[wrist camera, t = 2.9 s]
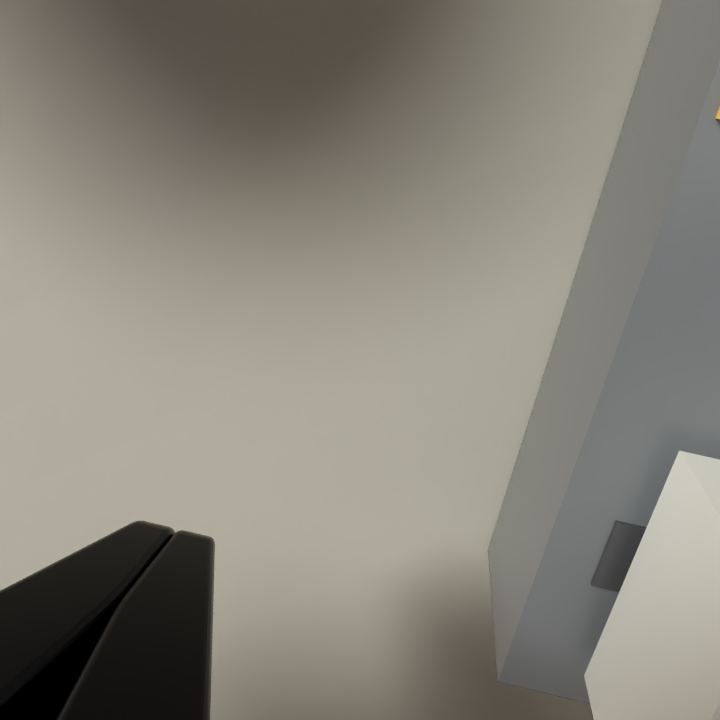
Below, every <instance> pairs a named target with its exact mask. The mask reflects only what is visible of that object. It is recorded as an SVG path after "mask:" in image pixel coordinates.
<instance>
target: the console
mask: <svg viewBox="0 0 720 720" xmlns="http://www.w3.org/2000/svg"><path fill="white" fill-rule="evenodd" d="M679 451H684V452H688V453H693V454H697V455H701V456H706V457H710V458H715V459H719V460H720V0H663V2H662V5H661V8H660V11H659V14H658V17H657V20H656V24H655V27H654V30H653V33H652V36H651V39H650V42H649V46H648V49H647V52H646V55H645V58H644V61H643V64H642V68H641V71H640V74H639V77H638V80H637V83H636V86H635V90H634V93H633V96H632V99H631V102H630V105H629V108H628V112H627V115H626V118H625V121H624V124H623V127H622V130H621V134H620V137H619V140H618V143H617V146H616V149H615V152H614V156H613V159H612V162H611V165H610V168H609V171H608V174H607V178H606V181H605V184H604V187H603V190H602V193H601V196H600V200H599V203H598V206H597V209H596V212H595V215H594V218H593V222H592V225H591V228H590V231H589V234H588V237H587V240H586V244H585V247H584V250H583V253H582V256H581V259H580V262H579V266H578V269H577V272H576V275H575V278H574V281H573V284H572V288H571V291H570V294H569V297H568V300H567V303H566V306H565V310H564V313H563V316H562V319H561V322H560V325H559V328H558V332H557V335H556V338H555V341H554V344H553V347H552V350H551V354H550V357H549V360H548V363H547V366H546V369H545V372H544V376H543V379H542V382H541V385H540V388H539V391H538V394H537V398H536V401H535V404H534V407H533V410H532V413H531V416H530V420H529V423H528V426H527V429H526V432H525V435H524V438H523V442H522V445H521V448H520V451H519V454H518V457H517V461H516V464H515V467H514V470H513V473H512V476H511V479H510V483H509V486H508V489H507V492H506V495H505V498H504V501H503V505H502V508H501V511H500V514H499V517H498V520H497V523H496V527H495V530H494V533H493V536H492V539H491V542H490V545H489V549H488V557H489V571H490V584H491V598H492V611H493V625H494V639H495V652H496V666H497V679H498V682H502V683H506V684H510V685H514V686H518V687H522V688H526V689H530V690H534V691H539V692H543V693H547V694H551V695H555V696H559V697H563V698H567V699H572V700H576V701H580V702H584V703H588V704H590V700H589V696H588V691H587V687H586V682H585V678H584V675H585V672H586V670H587V668H588V665H589V663H590V660H591V658H592V656H593V653H594V651H595V649H596V646H597V644H598V641H599V639H600V637H601V634H602V632H603V630H604V627H605V625H606V623H607V620H608V618H609V615H610V613H611V611H612V608H613V606H614V604H615V601H616V599H617V596H618V594H619V592H620V589H621V587H622V585H623V582H624V580H625V578H626V575H627V573H628V570H629V568H630V566H631V563H632V561H633V559H634V556H635V554H636V551H637V549H638V547H639V544H640V542H641V540H642V537H643V535H644V533H645V530H646V528H647V525H648V523H649V521H650V518H651V516H652V514H653V511H654V509H655V506H656V504H657V502H658V499H659V497H660V495H661V492H662V490H663V488H664V485H665V483H666V480H667V478H668V476H669V473H670V471H671V469H672V466H673V464H674V461H675V459H676V457H677V454H678V452H679Z"/></svg>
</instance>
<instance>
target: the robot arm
mask: <svg viewBox="0 0 720 720" xmlns="http://www.w3.org/2000/svg"><path fill="white" fill-rule="evenodd" d="M214 555H215V542H214V540H213V539H212V538H211V537H209V536H205V535H201V534H197V533H192V532H188V531H183V530H181V531H178V532H176V533H175V531H174V530H173V529H172V528H170V527H167V526H163V525H159V524H154V523H150V522H146V521H136V522H133V523H131V524H129V525H127V526H125V527H123V528H121V529H119V530H117V531H115V532H113V533H111V534H110V535H108V536H106V537H104V538H102V539H100V540H98V541H96V542H94V543H92V544H90V545H88V546H86V547H84V548H82V549H80V550H78V551H77V552H75V553H73V554H71V555H69V556H67V557H65V558H63V559H61V560H59V561H57V562H55V563H53V564H51V565H49V566H47V567H45V568H44V569H42V570H40V571H38V572H36V573H34V574H32V575H30V576H28V577H26V578H24V579H22V580H20V581H18V582H16V583H14V584H12V585H11V586H9V587H7V588H5V589H3V590H1V591H0V720H210V702H211V665H212V629H213V592H214Z"/></svg>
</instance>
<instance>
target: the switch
mask: <svg viewBox="0 0 720 720" xmlns="http://www.w3.org/2000/svg"><path fill="white" fill-rule="evenodd" d="M584 678H585V682H586V687H587V691H588V696H589V700H590V705H591V709H592V714H593V718H594V720H720V460H719V459H715V458H710V457H706V456H701V455H697V454H693V453H688V452H684V451H679V452H678V454H677V457H676V459H675V461H674V464H673V466H672V469H671V471H670V473H669V476H668V478H667V480H666V483H665V485H664V488H663V490H662V492H661V495H660V497H659V499H658V502H657V504H656V506H655V509H654V511H653V514H652V516H651V518H650V521H649V523H648V525H647V528H646V530H645V533H644V535H643V537H642V540H641V542H640V544H639V547H638V549H637V551H636V554H635V556H634V559H633V561H632V563H631V566H630V568H629V570H628V573H627V575H626V578H625V580H624V582H623V585H622V587H621V589H620V592H619V594H618V596H617V599H616V601H615V604H614V606H613V608H612V611H611V613H610V615H609V618H608V620H607V623H606V625H605V627H604V630H603V632H602V634H601V637H600V639H599V641H598V644H597V646H596V649H595V651H594V653H593V656H592V658H591V660H590V663H589V665H588V668H587V670H586V672H585V675H584Z"/></svg>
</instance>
